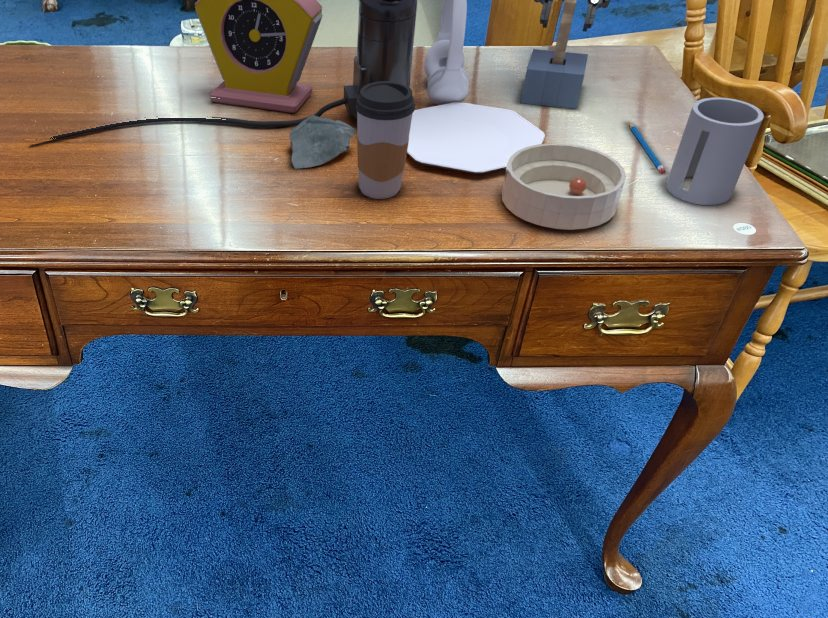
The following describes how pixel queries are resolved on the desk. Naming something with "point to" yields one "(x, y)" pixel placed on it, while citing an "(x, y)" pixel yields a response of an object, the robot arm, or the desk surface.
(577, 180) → the bead terracotta
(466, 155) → the plate
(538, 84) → the stand
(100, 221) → the desk surface
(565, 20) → the stick
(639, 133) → the pencil
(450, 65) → the headphones
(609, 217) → the bowl
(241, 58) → the yellow mantel clock
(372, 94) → the coffee cup
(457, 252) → the desk surface
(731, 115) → the cup
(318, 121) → the stone
